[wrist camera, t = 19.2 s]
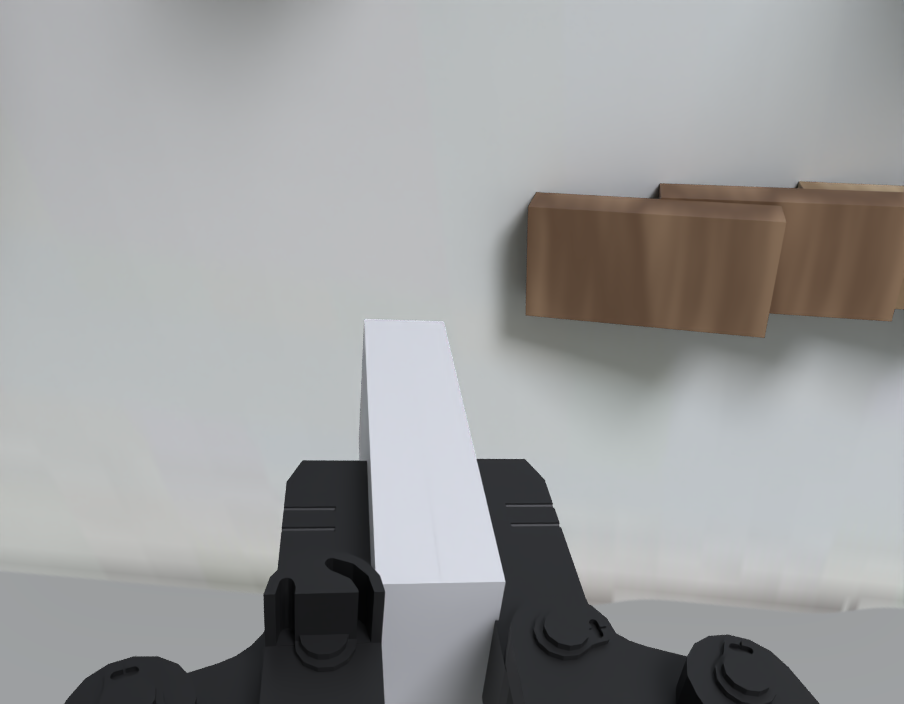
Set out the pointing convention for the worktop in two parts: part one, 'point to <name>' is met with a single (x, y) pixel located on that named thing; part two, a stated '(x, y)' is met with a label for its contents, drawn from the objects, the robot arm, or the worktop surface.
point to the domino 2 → (826, 247)
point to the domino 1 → (653, 262)
